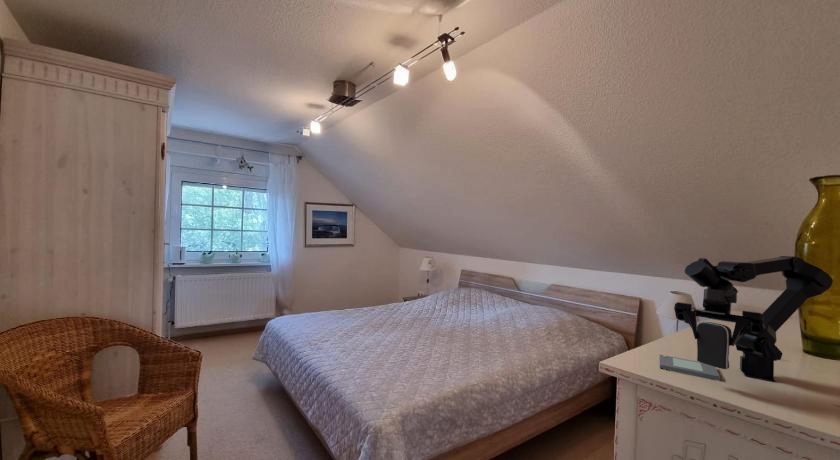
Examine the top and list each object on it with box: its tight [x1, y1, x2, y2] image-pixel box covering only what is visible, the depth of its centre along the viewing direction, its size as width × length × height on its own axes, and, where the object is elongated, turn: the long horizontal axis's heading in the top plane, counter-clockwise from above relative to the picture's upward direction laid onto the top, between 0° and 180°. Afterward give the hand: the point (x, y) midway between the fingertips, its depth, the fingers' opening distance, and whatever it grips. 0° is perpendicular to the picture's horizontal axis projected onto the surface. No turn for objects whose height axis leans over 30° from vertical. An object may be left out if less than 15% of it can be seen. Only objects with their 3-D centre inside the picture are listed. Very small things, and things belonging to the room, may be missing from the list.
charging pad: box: [659, 354, 721, 382], centre depth 106 cm, size 14×12×1 cm
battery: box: [696, 321, 733, 370], centre depth 93 cm, size 7×4×11 cm, turn 23°
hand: (713, 341), depth 93 cm, fingers closed on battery, 7 cm apart
